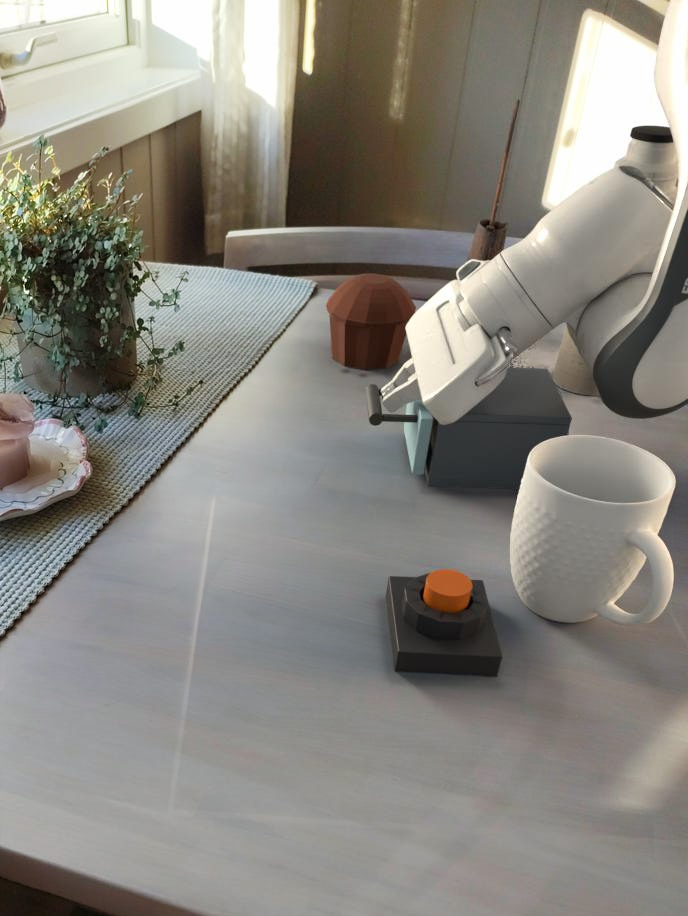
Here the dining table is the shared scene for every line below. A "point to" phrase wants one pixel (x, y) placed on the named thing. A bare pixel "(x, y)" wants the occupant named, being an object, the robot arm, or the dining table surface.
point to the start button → (447, 591)
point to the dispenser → (498, 433)
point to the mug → (590, 529)
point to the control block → (441, 632)
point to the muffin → (369, 321)
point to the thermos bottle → (656, 161)
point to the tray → (407, 426)
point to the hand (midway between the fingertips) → (385, 402)
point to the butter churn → (493, 216)
